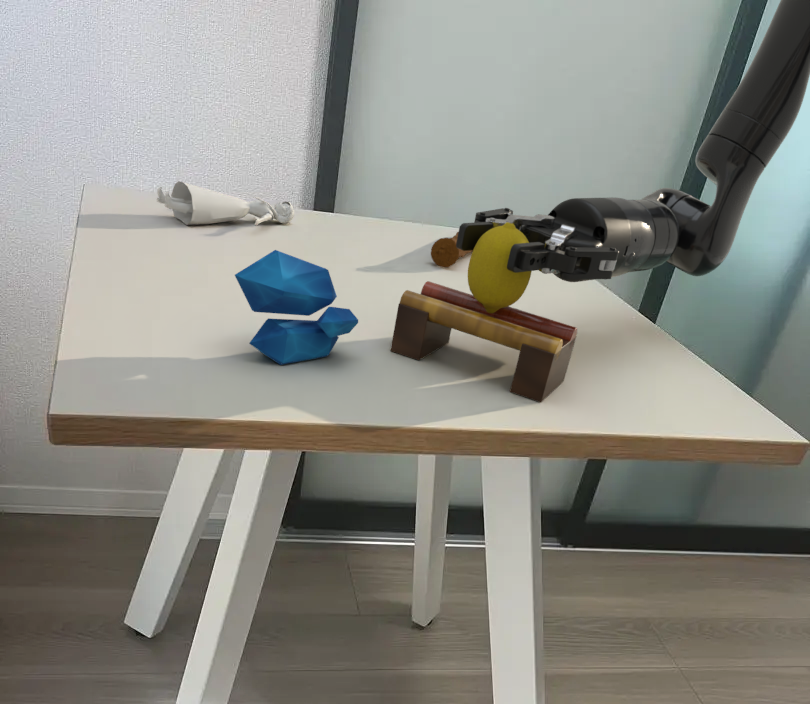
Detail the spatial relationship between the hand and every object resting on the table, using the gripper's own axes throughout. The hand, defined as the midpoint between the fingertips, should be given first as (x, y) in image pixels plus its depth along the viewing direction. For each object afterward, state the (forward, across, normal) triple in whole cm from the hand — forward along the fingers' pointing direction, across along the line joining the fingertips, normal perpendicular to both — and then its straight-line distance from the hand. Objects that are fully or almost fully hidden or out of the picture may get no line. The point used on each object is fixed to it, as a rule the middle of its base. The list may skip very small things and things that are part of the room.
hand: (486, 247), depth 76 cm
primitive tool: (-32, -30, +12) cm, 45 cm away
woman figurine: (-7, -46, +11) cm, 48 cm away
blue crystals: (+13, -8, +11) cm, 19 cm away
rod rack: (-2, 0, +11) cm, 11 cm away
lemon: (-3, 0, +6) cm, 7 cm away
